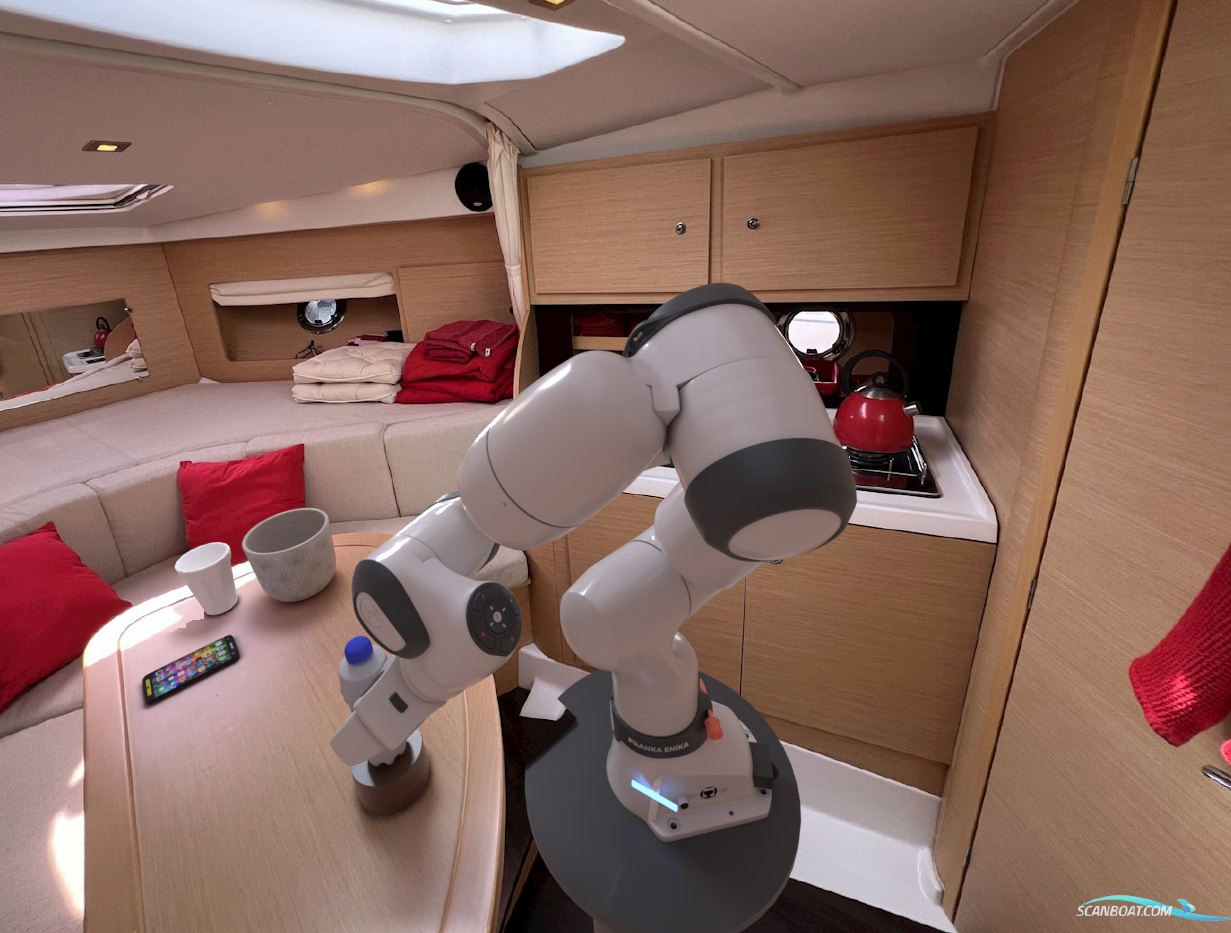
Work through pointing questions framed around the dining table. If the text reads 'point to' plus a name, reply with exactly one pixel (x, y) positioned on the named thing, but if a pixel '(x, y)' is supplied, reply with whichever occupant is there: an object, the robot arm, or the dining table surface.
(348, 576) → the dining table surface
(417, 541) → the robot arm
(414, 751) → the pedestal
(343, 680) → the bottle
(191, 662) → the smartphone
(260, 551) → the planter
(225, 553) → the cup
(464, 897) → the dining table surface
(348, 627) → the dining table surface
